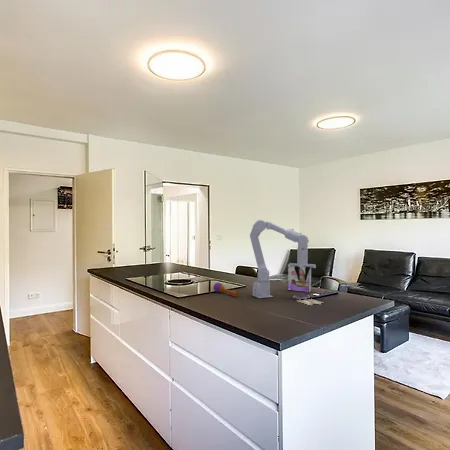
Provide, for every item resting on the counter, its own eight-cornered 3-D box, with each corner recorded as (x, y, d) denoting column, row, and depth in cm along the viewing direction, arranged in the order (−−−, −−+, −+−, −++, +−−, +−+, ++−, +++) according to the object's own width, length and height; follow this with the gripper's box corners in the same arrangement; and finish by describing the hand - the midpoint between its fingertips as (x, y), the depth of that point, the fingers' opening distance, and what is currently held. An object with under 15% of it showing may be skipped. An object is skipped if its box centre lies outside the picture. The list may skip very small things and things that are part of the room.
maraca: (232, 291, 180) (211, 283, 195) (233, 301, 181) (211, 292, 196) (240, 288, 184) (218, 280, 199) (240, 297, 185) (219, 289, 200)
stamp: (300, 287, 178) (301, 274, 178) (295, 285, 183) (295, 273, 183) (308, 286, 180) (308, 274, 180) (303, 285, 185) (303, 273, 185)
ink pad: (299, 299, 177) (299, 297, 177) (292, 297, 183) (292, 295, 183) (311, 298, 181) (311, 296, 181) (304, 296, 186) (304, 294, 186)
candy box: (287, 290, 204) (287, 264, 204) (289, 289, 209) (290, 263, 209) (309, 293, 197) (309, 266, 197) (311, 291, 202) (311, 265, 203)
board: (308, 305, 164) (308, 304, 164) (296, 301, 173) (296, 300, 173) (323, 303, 168) (323, 302, 168) (311, 299, 177) (311, 298, 177)
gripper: (288, 256, 181) (288, 280, 180) (315, 257, 176) (314, 282, 175) (290, 255, 187) (290, 278, 187) (316, 256, 182) (315, 280, 182)
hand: (302, 280), depth 182 cm, fingers closed on stamp, 3 cm apart
